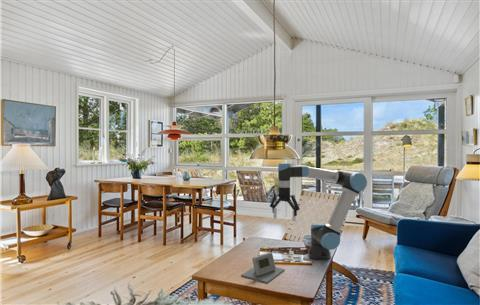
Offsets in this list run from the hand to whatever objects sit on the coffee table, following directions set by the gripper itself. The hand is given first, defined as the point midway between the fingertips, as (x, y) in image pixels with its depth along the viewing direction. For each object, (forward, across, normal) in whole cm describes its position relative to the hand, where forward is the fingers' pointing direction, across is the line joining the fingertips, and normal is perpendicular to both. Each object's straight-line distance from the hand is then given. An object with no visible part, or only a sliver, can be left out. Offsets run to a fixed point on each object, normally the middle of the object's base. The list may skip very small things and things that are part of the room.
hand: (284, 219), depth 210 cm
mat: (+31, -6, -17) cm, 36 cm away
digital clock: (+30, -5, -17) cm, 35 cm away
